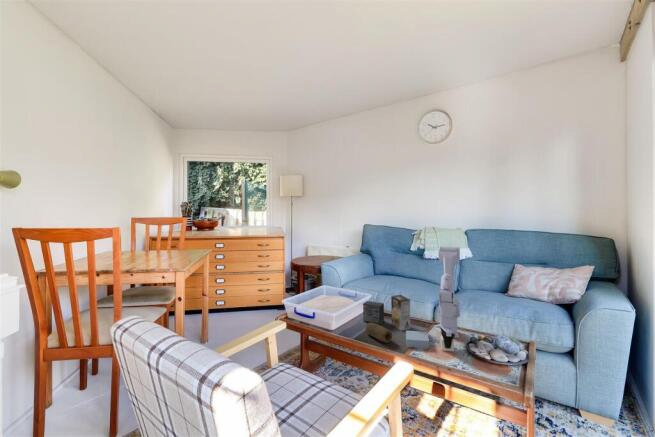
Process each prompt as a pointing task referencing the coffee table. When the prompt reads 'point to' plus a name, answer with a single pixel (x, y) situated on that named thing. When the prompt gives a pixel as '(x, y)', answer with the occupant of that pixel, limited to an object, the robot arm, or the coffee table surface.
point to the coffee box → (400, 312)
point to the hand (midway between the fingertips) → (447, 345)
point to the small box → (373, 312)
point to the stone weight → (379, 332)
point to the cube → (444, 345)
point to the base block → (417, 339)
